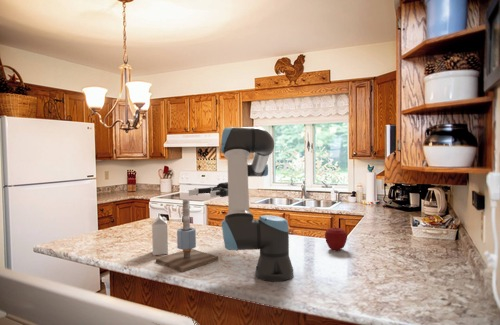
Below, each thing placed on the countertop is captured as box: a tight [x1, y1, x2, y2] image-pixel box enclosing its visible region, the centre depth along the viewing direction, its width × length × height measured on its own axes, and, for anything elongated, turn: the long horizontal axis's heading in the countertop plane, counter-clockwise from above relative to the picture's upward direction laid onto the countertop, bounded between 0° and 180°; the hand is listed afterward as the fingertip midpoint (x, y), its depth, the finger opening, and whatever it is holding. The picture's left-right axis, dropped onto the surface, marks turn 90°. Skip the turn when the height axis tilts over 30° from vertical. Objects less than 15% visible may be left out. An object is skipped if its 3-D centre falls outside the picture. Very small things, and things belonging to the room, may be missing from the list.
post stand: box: [155, 198, 219, 273], centre depth 147 cm, size 20×20×28 cm
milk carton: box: [151, 213, 169, 256], centre depth 159 cm, size 7×7×19 cm
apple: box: [324, 226, 348, 252], centre depth 161 cm, size 11×11×12 cm
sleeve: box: [176, 227, 197, 251], centre depth 147 cm, size 8×8×8 cm
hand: (199, 193), depth 155 cm, fingers open, 13 cm apart
